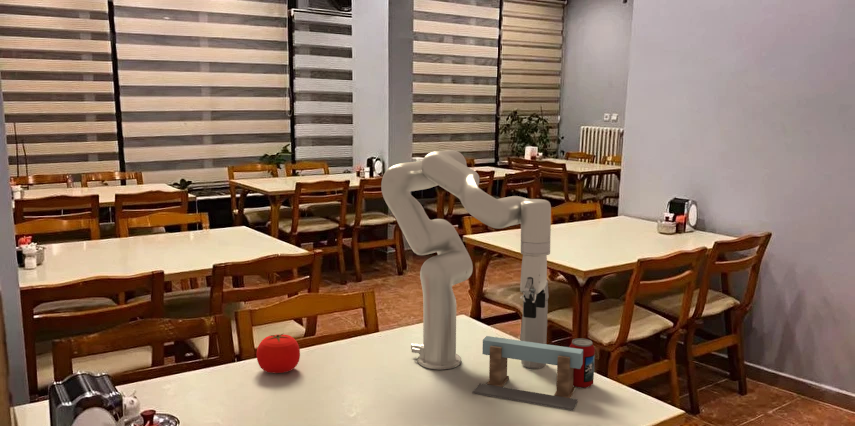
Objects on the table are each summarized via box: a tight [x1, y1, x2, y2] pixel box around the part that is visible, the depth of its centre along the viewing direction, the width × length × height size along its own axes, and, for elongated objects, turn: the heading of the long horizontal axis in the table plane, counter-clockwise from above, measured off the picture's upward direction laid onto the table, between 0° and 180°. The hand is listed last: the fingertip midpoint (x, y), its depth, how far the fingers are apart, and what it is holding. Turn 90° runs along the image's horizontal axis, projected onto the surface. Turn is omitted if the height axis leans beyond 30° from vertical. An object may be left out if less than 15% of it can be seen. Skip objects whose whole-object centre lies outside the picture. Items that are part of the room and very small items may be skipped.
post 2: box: [553, 355, 576, 398], centre depth 178 cm, size 4×7×11 cm, turn 157°
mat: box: [472, 382, 578, 412], centre depth 176 cm, size 26×6×1 cm, turn 67°
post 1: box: [486, 346, 510, 387], centre depth 185 cm, size 4×7×11 cm, turn 157°
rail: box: [482, 335, 583, 369], centre depth 181 cm, size 26×4×4 cm, turn 67°
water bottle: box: [519, 280, 549, 370], centre depth 197 cm, size 9×8×25 cm
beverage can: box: [568, 337, 596, 389], centre depth 184 cm, size 7×7×12 cm
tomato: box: [255, 332, 301, 374], centre depth 192 cm, size 12×12×10 cm
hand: (534, 312), depth 179 cm, fingers open, 9 cm apart
